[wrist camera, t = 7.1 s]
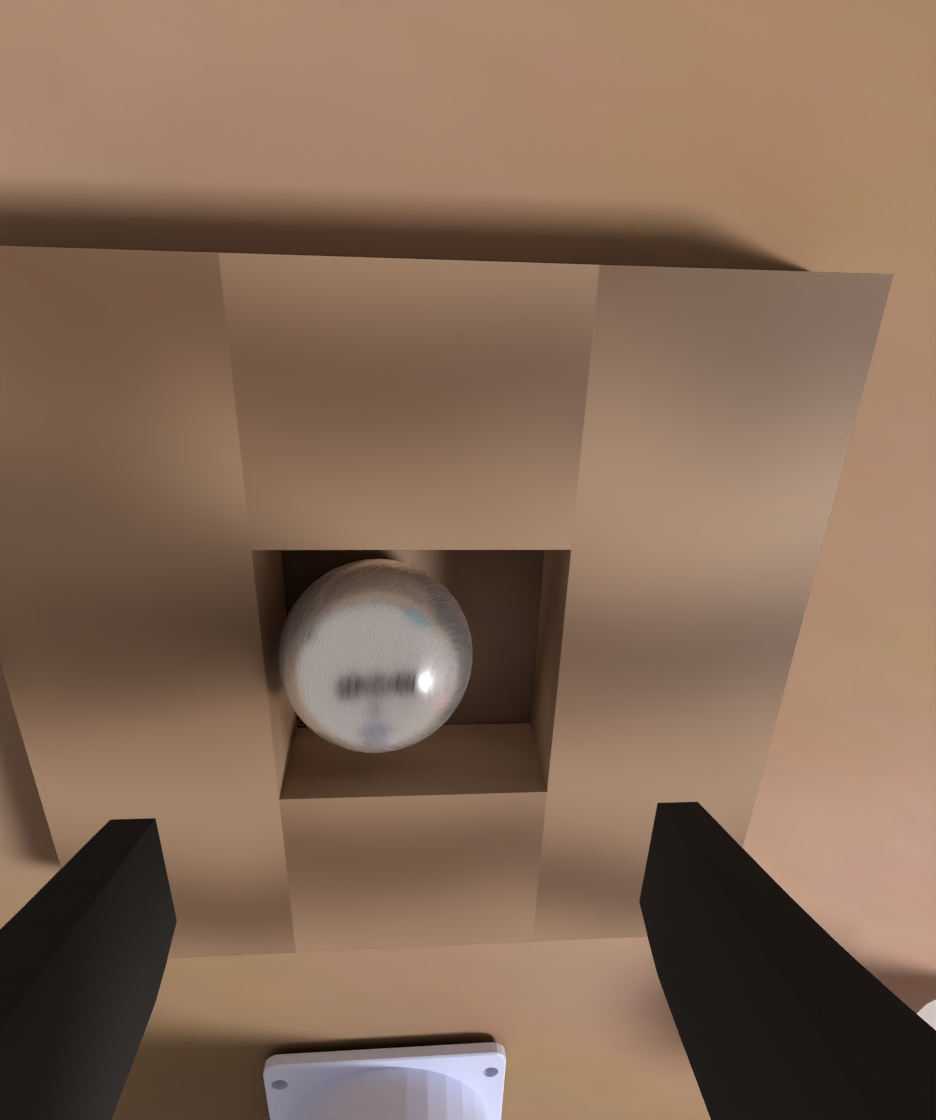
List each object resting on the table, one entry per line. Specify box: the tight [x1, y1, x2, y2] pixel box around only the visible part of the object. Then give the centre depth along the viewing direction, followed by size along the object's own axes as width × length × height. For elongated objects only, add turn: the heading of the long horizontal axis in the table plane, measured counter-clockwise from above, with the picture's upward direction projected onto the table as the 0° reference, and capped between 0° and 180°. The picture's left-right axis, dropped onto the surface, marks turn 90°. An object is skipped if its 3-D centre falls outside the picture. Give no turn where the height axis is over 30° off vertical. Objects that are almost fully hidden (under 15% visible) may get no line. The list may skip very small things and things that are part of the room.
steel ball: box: [279, 559, 473, 753], centre depth 14 cm, size 4×4×4 cm
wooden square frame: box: [0, 246, 893, 958], centre depth 15 cm, size 16×16×2 cm
